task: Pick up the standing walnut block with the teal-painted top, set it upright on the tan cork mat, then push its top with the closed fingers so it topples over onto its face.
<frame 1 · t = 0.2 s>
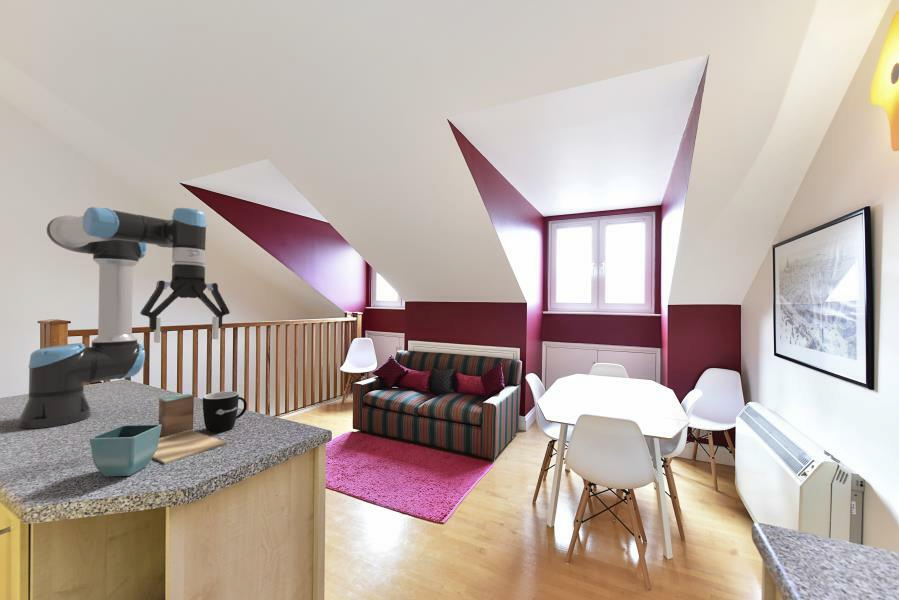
hand: (187, 340, 101), 27 cm above the worktop, fingers open, 13 cm apart
mug: (225, 428, 108), on the worktop
flower pot: (126, 472, 80), on the worktop
mat: (179, 446, 94), on the worktop
block: (176, 431, 105), on the worktop
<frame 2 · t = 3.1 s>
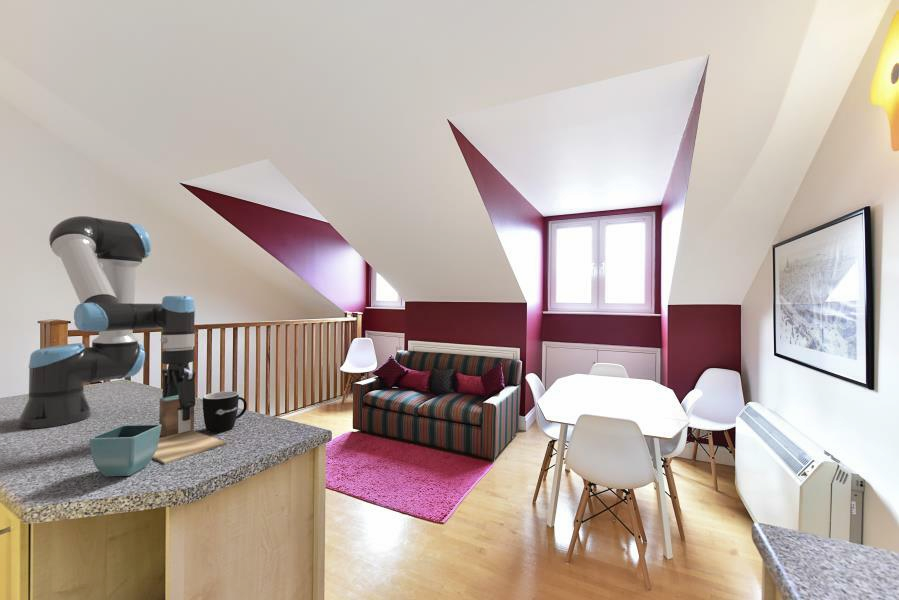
hand: (178, 429, 104), 1 cm above the worktop, fingers open, 6 cm apart
block: (176, 431, 105), on the worktop, touching gripper
everything else where it was.
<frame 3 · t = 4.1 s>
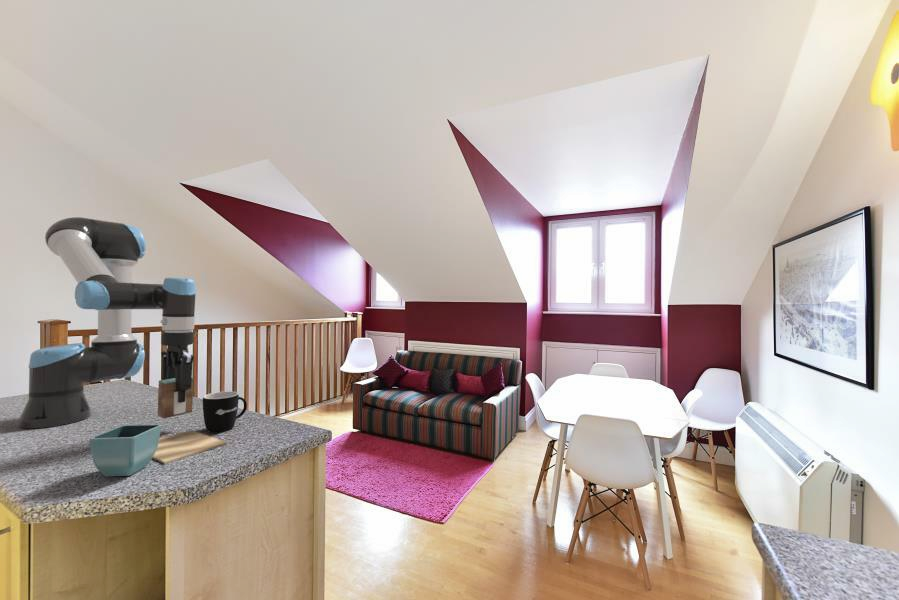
hand: (175, 411, 105), 6 cm above the worktop, fingers closed on block, 4 cm apart
block: (175, 413, 105), point 5 cm above the worktop, touching gripper
everything else where it was.
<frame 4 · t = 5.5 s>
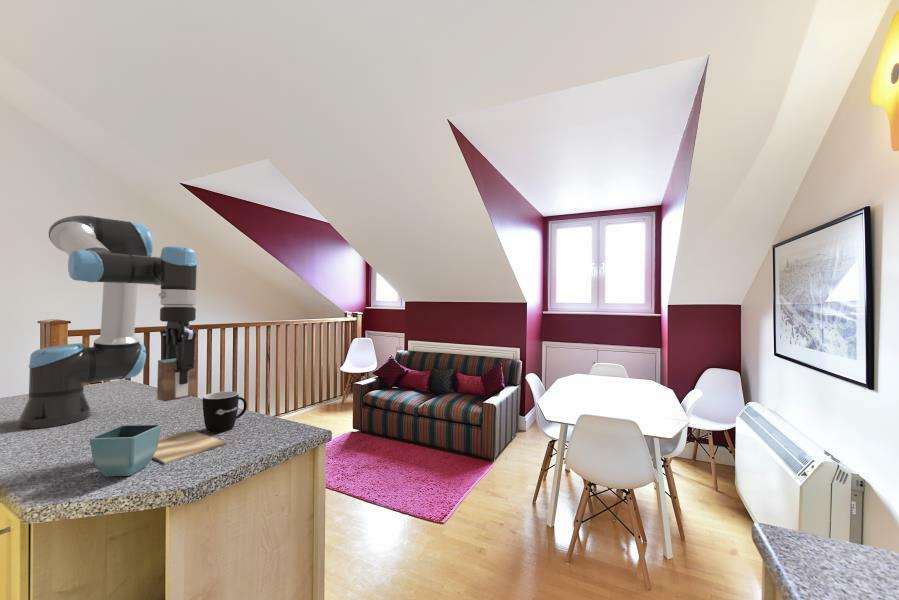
hand: (176, 395, 95), 13 cm above the worktop, fingers closed on block, 4 cm apart
block: (176, 397, 95), point 12 cm above the worktop, touching gripper
everything else where it was.
when the fingers open (1 cm above the worktop, at t = 7.3 s): block stays where it is, resting on mat.
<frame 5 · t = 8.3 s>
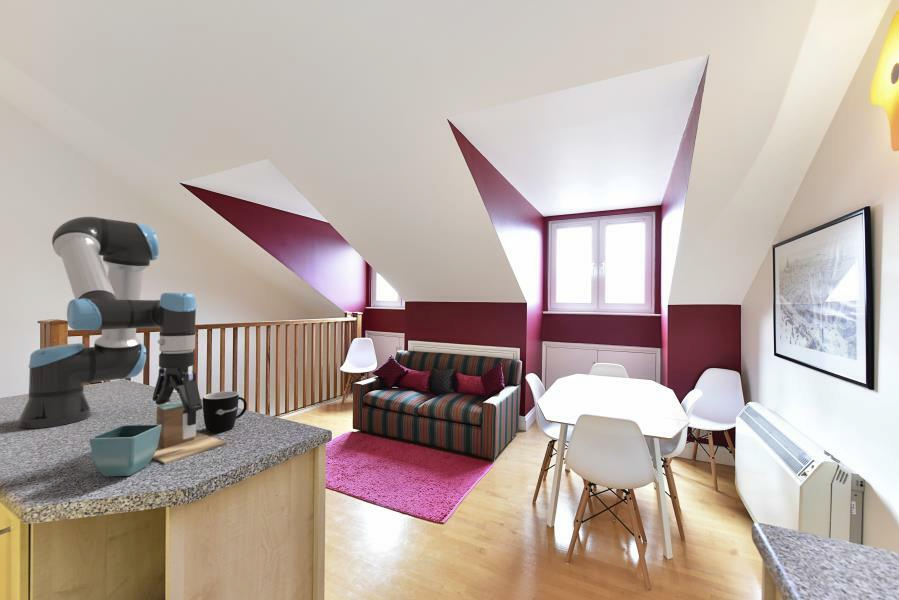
hand: (175, 432, 95), 3 cm above the worktop, fingers open, 13 cm apart
block: (175, 442, 95), resting on mat
everything else where it was.
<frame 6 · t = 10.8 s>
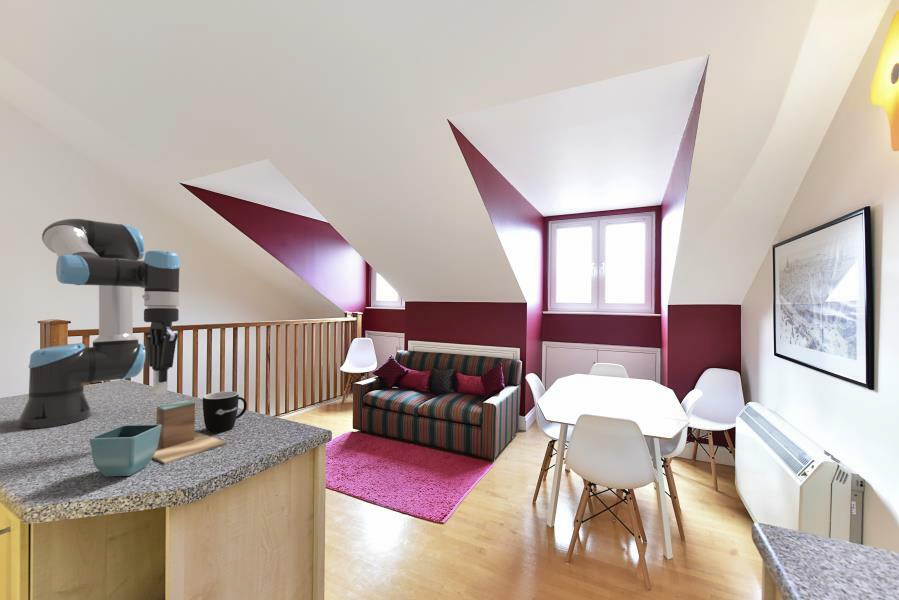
hand: (160, 393, 99), 12 cm above the worktop, fingers closed
nothing on the worktop moved.
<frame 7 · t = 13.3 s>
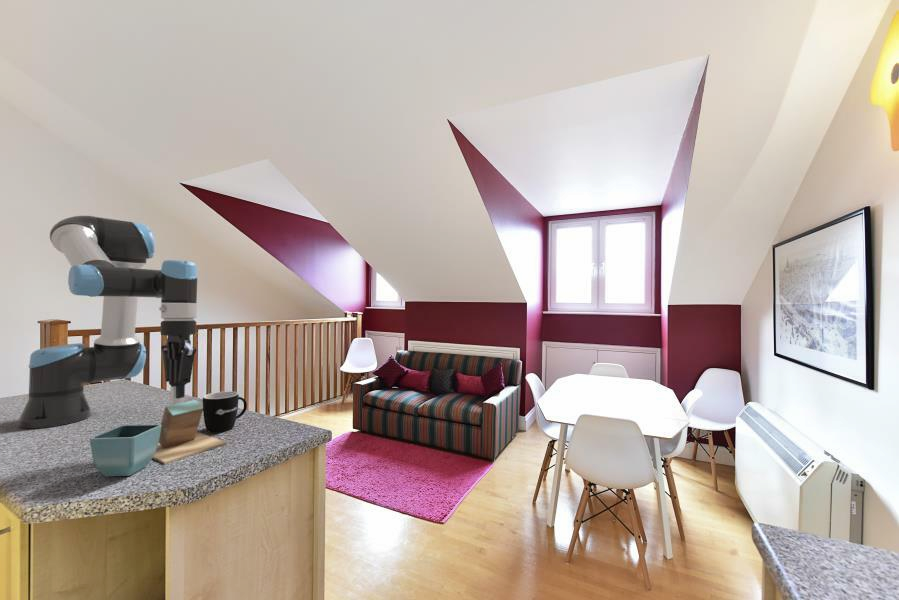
hand: (177, 409, 95), 9 cm above the worktop, fingers closed
block: (175, 439, 95), point 1 cm above the worktop, tilted 24°, touching mat
everything else where it was.
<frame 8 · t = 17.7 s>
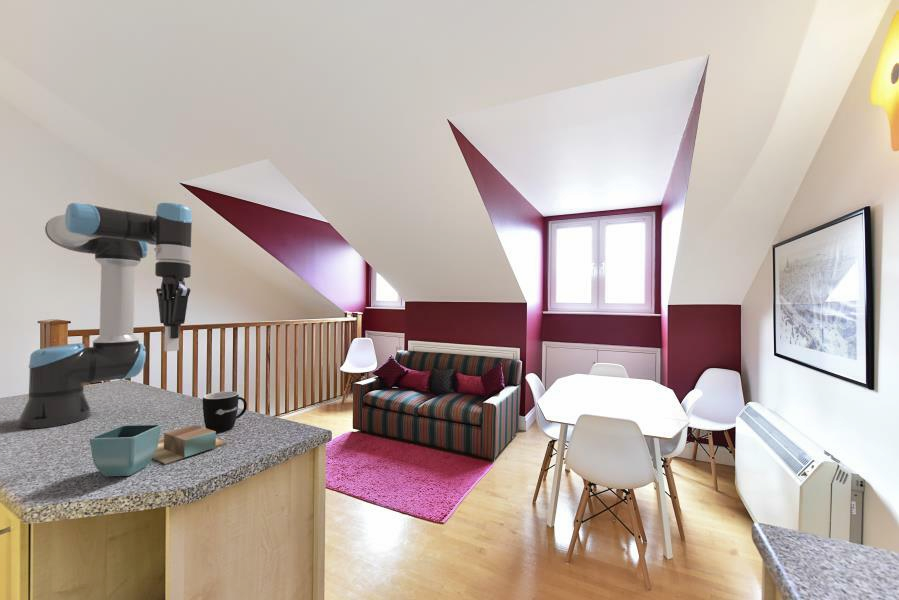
hand: (171, 350, 97), 24 cm above the worktop, fingers closed
block: (179, 436, 94), point 2 cm above the worktop, tilted 90°, touching mat
everything else where it was.
at the end: block tilted 90°; block inside the target area (4.0 cm from its centre), point 2.5 cm above the worktop; the gripper is holding nothing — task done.
